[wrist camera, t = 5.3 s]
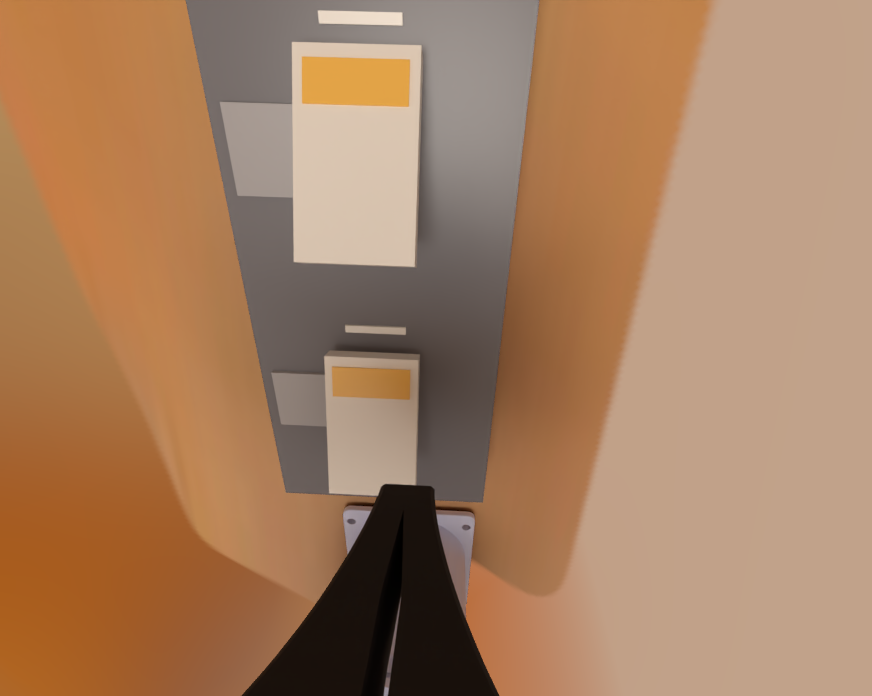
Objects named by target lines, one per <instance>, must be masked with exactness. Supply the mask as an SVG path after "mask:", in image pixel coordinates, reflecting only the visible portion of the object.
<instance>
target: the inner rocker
mask: <svg viewBox="0 0 872 696" xmlns="http://www.w3.org/2000/svg"><path fill="white" fill-rule="evenodd" d="M324 365H325V393H326V421H327V448H328V476H329V493H333V494H352V495H372V496H378V494H379V491H380V488H381V486H383V485H384V484H402V485H417V447H418V408H419V370H420V354H403V353H380V352H357V351H334V350H330V351H329V352H328V353H327V354H326V355H325V356H324Z"/></svg>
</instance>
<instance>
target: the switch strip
mask: <svg viewBox="0 0 872 696" xmlns="http://www.w3.org/2000/svg"><path fill="white" fill-rule="evenodd" d="M186 4H187V9H188V14H189V19H190V24H191V29H192V34H193V39H194V44H195V48H196V53H197V58H198V63H199V68H200V73H201V78H202V83H203V88H204V93H205V98H206V102H207V107H208V112H209V117H210V122H211V127H212V132H213V137H214V142H215V147H216V152H217V156H218V161H219V166H220V171H221V176H222V181H223V186H224V191H225V196H226V201H227V206H228V210H229V215H230V220H231V225H232V230H233V235H234V240H235V245H236V250H237V255H238V260H239V264H240V269H241V274H242V279H243V284H244V289H245V294H246V299H247V304H248V309H249V314H250V318H251V323H252V328H253V333H254V338H255V343H256V348H257V353H258V358H259V363H260V368H261V372H262V377H263V382H264V387H265V392H266V397H267V402H268V407H269V412H270V417H271V422H272V426H273V431H274V436H275V441H276V446H277V451H278V456H279V461H280V466H281V471H282V476H283V480H284V485H285V490H286V492H287V493H306V494H326V495H345V496H365V497H377V496H372V495H352V494H333V493H329V476H328V448H327V421H326V393H325V365H324V356H325V355H326V354H327V353H328V352H329V351H330V350H334V351H357V352H380V353H403V354H420V370H419V408H418V447H417V485H421V486H431V487H433V488H434V489H435V500H443V501H463V502H483V496H484V487H485V479H486V470H487V461H488V452H489V443H490V434H491V425H492V416H493V407H494V398H495V390H496V381H497V372H498V363H499V354H500V345H501V336H502V327H503V318H504V309H505V301H506V292H507V283H508V274H509V265H510V256H511V247H512V238H513V229H514V221H515V212H516V203H517V194H518V185H519V176H520V167H521V158H522V149H523V140H524V132H525V123H526V114H527V105H528V96H529V87H530V78H531V69H532V60H533V51H534V43H535V34H536V25H537V16H538V7H539V0H186ZM292 42H319V43H357V44H394V45H422V54H423V81H422V112H421V144H420V175H419V207H418V238H417V268H415V267H389V266H363V265H337V264H311V263H297V262H294V241H293V126H292Z"/></svg>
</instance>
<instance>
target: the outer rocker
mask: <svg viewBox="0 0 872 696" xmlns="http://www.w3.org/2000/svg"><path fill="white" fill-rule="evenodd" d="M422 81H423V54H422V45H394V44H357V43H319V42H292V126H293V241H294V262H297V263H311V264H337V265H363V266H389V267H415V268H417V238H418V207H419V175H420V144H421V112H422Z"/></svg>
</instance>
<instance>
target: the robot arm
mask: <svg viewBox="0 0 872 696" xmlns="http://www.w3.org/2000/svg"><path fill="white" fill-rule="evenodd" d="M343 521H344V529H345V538H346V546H347V557H346V558H345V560H344V562H343V563H342V565H341V566H340V568H339V570H338V571H337V573H336V574H335V576H334V577H333V579H332V581H331V582H330V584H329V585H328V587H327V588H326V590H325V591H324V593H323V594H322V596H321V597H320V599H319V600H318V602H317V603H316V604H315V606H314V607H313V609H312V610H311V611H310V613H309V614H308V615H307V617H306V618H305V620H304V621H303V622H302V624H301V625H300V626H299V628H298V629H297V630H296V631H295V633H294V634H293V635H292V637H291V638H290V639H289V640H288V642H287V643H286V644H285V645H284V647H283V648H282V649H281V650H280V652H279V653H278V654H277V656H276V657H275V658H274V659H273V660H272V662H271V663H270V664H269V665H268V666H267V667H266V669H265V670H264V671H263V672H262V673H261V674H260V676H259V677H258V678H257V679H256V680H255V681H254V682H253V683H252V685H251V686H250V687H249V688H248V689H247V690H246V691H245V692H244V694H243V695H242V696H499V694H498V692H497V690H496V688H495V686H494V684H493V681H492V679H491V677H490V675H489V673H488V671H487V669H486V667H485V665H484V662H483V660H482V658H481V655H480V653H479V651H478V648H477V646H476V643H475V641H474V639H473V636H472V633H471V631H470V628H469V626H468V623H467V621H466V604H467V594H468V585H469V575H470V565H471V556H472V546H473V536H474V526H475V516H474V514H473V513H471V512H467V511H448V510H436V508H435V489H434V488H433V487H431V486H421V485H402V484H384V485H383V486H381V488H380V491H379V494H378V496H377V499H376V501H375V503H374V506H373V507H371V506H347V507H345V509H344V512H343Z"/></svg>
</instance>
